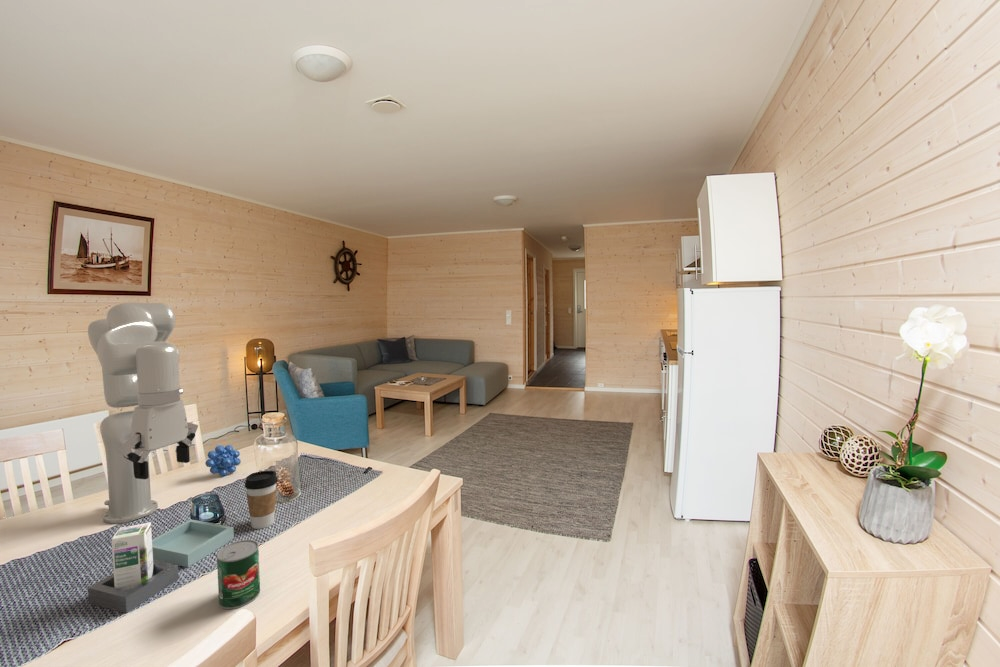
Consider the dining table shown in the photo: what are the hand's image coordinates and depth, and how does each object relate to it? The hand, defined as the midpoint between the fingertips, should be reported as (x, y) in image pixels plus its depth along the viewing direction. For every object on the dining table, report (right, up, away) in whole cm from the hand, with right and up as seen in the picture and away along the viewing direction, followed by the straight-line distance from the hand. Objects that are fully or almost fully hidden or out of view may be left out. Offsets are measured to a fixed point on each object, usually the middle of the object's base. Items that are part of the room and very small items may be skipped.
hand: (163, 469), depth 97 cm
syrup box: (-4, -27, -3) cm, 27 cm away
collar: (-4, -26, -3) cm, 27 cm away
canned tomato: (+21, -27, -5) cm, 34 cm away
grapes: (-23, -22, +57) cm, 66 cm away
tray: (-4, -25, +13) cm, 29 cm away
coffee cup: (+9, -25, +26) cm, 36 cm away
